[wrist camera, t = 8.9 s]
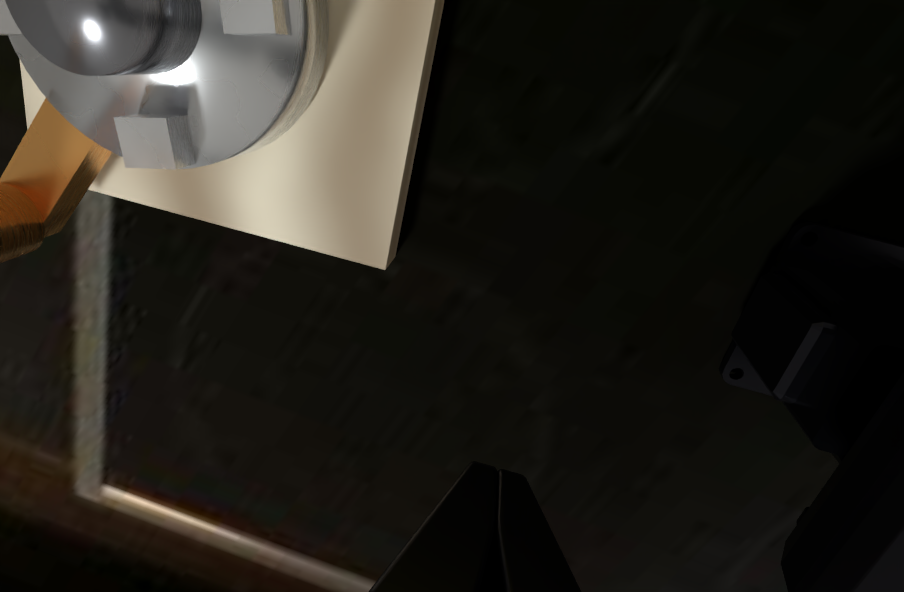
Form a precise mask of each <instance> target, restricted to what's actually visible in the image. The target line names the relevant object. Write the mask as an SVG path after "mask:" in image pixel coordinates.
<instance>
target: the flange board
mask: <svg viewBox="0 0 904 592" xmlns="http://www.w3.org/2000/svg"><path fill="white" fill-rule="evenodd" d="M327 2H328V9H329V38H328V48H327V55H326V60H325V64H324V69H323V73H322V76H321V78H320V81H319V84H318V87H317V90H316V92H315V94H314V95H313V97H312V99H311V101H310V103H309V105H308V107H307V108H306V109H305V111H304V112H303V114H302V115H301V117H300V118H299V119H298V120H297V121H296V123H295V124H294V125H293V126H292V127H291V128H290V129H289V130H288V131H287V132H285V133H284V134H283V135H282V136H280V137H279V138H278V139H276V140H275V141H273V142H272V143H270V144H268V145H266V146H264V147H263V148H260V149H258V150H255V151H252V152H249V153H246V154H243V155H240V156H237V157H233V158H230V159H227V160H223V161H220V162H217V163H214V164H210V165H207V166H201V167H196V168H191V169H149V168H125V164H124V159H123V157H121V156H119V155H117V154H115V153H113V152H112V154H111V155H110V157H109V158H108V160H107V161H106V163H105V164H104V166H103V167H102V169H101V170H100V172H99V173H98V175H97V176H96V178H95V179H94V181H93V182H92V184H91V185H90V187H89V189H88V190H92V191H96V192H99V193H103V194H107V195H111V196H114V197H118V198H122V199H125V200H129V201H133V202H136V203H140V204H144V205H147V206H151V207H155V208H159V209H162V210H166V211H170V212H173V213H177V214H181V215H184V216H188V217H192V218H195V219H199V220H203V221H207V222H210V223H214V224H218V225H221V226H225V227H229V228H232V229H236V230H240V231H243V232H247V233H251V234H255V235H258V236H262V237H266V238H269V239H273V240H277V241H280V242H284V243H288V244H291V245H295V246H299V247H303V248H306V249H310V250H314V251H317V252H321V253H325V254H328V255H332V256H336V257H339V258H343V259H347V260H351V261H354V262H358V263H362V264H365V265H369V266H373V267H376V268H380V269H384V270H386V268H387V267H388V266H389V264H390V263H391V262H392V260H393V259H394V258H395V255H396V250H397V245H398V240H399V235H400V229H401V224H402V219H403V214H404V209H405V203H406V198H407V193H408V188H409V183H410V177H411V172H412V167H413V162H414V157H415V151H416V146H417V141H418V136H419V131H420V125H421V120H422V115H423V110H424V105H425V99H426V94H427V89H428V84H429V79H430V73H431V68H432V63H433V58H434V53H435V47H436V42H437V37H438V32H439V27H440V21H441V16H442V11H443V6H444V0H327ZM20 66H21V75H22V84H23V93H24V102H25V111H26V120H27V129H28V128H29V127H30V125H31V123H32V121H33V119H34V118H35V116H36V114H37V112H38V111H39V109H40V107H41V105H42V103H43V102H44V100H45V98H46V97H45V96H44V94H43V93H42V92H41V91H40V90H39V88H38V87H37V85H36V84H35V82H34V81H33V80H32V78H31V77H30V75H29V74H28V72H27V71H26V69H25V67H24V66H23V64H22V62H21V60H20Z"/></svg>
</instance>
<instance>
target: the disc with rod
mask: <svg viewBox="0 0 904 592" xmlns="http://www.w3.org/2000/svg"><path fill="white" fill-rule="evenodd" d="M0 35H6V36H9V38H10V41H11V43H12V45H13V47H14V50H15V51H16V53H17V55H18V57H19V58H20V60H21V62H22V64H23V66H24V67H25V69H26V71H27V72H28V74H29V75H30V77H31V78H32V80H33V81H34V82H35V84H36V85H37V87H38V88H39V90H40V91H41V92H42V93H43V94H44V96H45V97H46V98H45V100H44V102H43V103H42V105H41V107H40V109H39V111H38V112H37V114H36V116H35V118H34V119H33V121H32V123H31V125H30V127H29V128H28V130H27V132H26V134H25V136H24V137H23V139H22V141H21V143H20V144H19V146H18V148H17V150H16V152H15V153H14V155H13V157H12V159H11V161H10V162H9V164H8V166H7V168H6V169H5V171H4V173H3V175H2V177H1V178H0V263H2V262H5V261H7V260H10V259H13V258H15V257H18V256H21V255H24V254H26V253H29V252H32V251H34V250H36V249H37V248H38V247H40V245H41V244H42V242H43V239H44V237H46V236H49V235H52V234H55V233H58V232H60V231H61V230H62V228H63V227H64V225H65V224H66V222H67V220H68V219H69V217H70V216H71V214H72V213H73V211H74V210H75V208H76V207H77V205H78V204H79V202H80V201H81V199H82V198H83V196H84V195H85V193H86V192H87V190H88V189H89V187H90V185H91V184H92V182H93V181H94V179H95V178H96V176H97V175H98V173H99V172H100V170H101V169H102V167H103V166H104V164H105V163H106V161H107V160H108V158H109V157H110V155H111V154H112V152H113V153H115V154H117V155H119V156H121V157H123V159H124V164H125V168H149V169H191V168H196V167H201V166H207V165H210V164H214V163H217V162H220V161H223V160H227V159H230V158H233V157H237V156H240V155H243V154H246V153H249V152H252V151H255V150H258V149H260V148H263V147H264V146H266V145H268V144H270V143H272V142H273V141H275V140H276V139H278V138H279V137H280V136H282V135H283V134H284V133H285V132H287V131H288V130H289V129H290V128H291V127H292V126H293V125H294V124H295V123H296V121H297V120H298V119H299V118H300V117H301V115H302V114H303V112H304V111H305V109H306V108H307V107H308V105H309V103H310V101H311V99H312V97H313V95H314V94H315V92H316V90H317V87H318V84H319V81H320V78H321V76H322V73H323V69H324V64H325V60H326V55H327V48H328V38H329V9H328V2H327V0H0Z"/></svg>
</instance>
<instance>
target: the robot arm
mask: <svg viewBox="0 0 904 592" xmlns="http://www.w3.org/2000/svg"><path fill="white" fill-rule="evenodd" d="M808 232H812V238H811V239H810V240H809V241H807V242H805V243H801V238H802V236H803V235H804V234H805V233H808ZM732 337H733V339H734V340H733V342H732V343H731V345H730V347H729V349H728V351H727V353H726V355H725V357H724V359H723V361H722V363H721V365H720V368H719V371H720V374H721V376H722V378H723V379H724V380H725V381H726V383H729V384H731V385H734V386H738V387H742V388H745V389H749V390H753V391H756V392H760V393H764V394H767V395H771V396H773V397H774V398H775V399H776V400H778V401H782V402H783V403H784V405H785V406H786V408H787V409H788V410H789V412H790V413H791V415H792V416H793V417H794V419H795V420H796V422H797V423H798V424H799V426H800V427H801V428H802V430H803V431H804V433H805V434H806V435H807V437H808V438H809V440H810V441H811V442H812V444H813V445H814V447H816V448H818V449H819V450H823V451H827V452H830V453H832V454H833V456H834V457H835V458H836V460H837V461H838V462H839V466H838V467H837V468H836V470H835V471H834V473H833V474H832V476H831V477H830V479H829V480H828V481H827V483H826V484H825V486H824V487H823V489H822V490H821V491H820V493H819V494H818V496H817V497H816V499H815V500H814V501H813V503H812V504H811V506H810V507H806V508H805V509H804V511H803V512H802V514H801V515H800V517H799V518H798V519H797V526H796V527H795V529H794V530H793V531H792V533H791V534H790V536H789V537H788V539H787V540H786V542H785V547H784V551H783V556H782V560H781V566H782V570H783V573H784V577H785V581H786V585H787V589H788V592H904V246H903V245H899V244H895V243H891V242H887V241H883V240H879V239H875V238H871V237H868V236H864V235H860V234H856V233H852V232H848V231H844V230H840V229H836V228H833V227H829V226H825V225H821V224H817V223H813V222H802V223H799V224H797V225H796V226H794V227H793V228H792V229H791V231H790V232H789V234H788V236H787V238H786V240H785V241H784V243H783V245H782V247H781V249H780V251H779V253H778V255H777V257H776V259H775V261H774V263H773V265H772V266H771V268H770V270H769V272H768V273H767V274H765V275H763V276H761V277H760V279H759V281H758V283H757V285H756V287H755V289H754V291H753V293H752V295H751V297H750V299H749V300H748V302H747V304H746V306H745V308H744V310H743V312H742V314H741V316H740V318H739V320H738V322H737V324H736V326H735V328H734V330H733V332H732ZM735 368H740V371H739V372H738V373H735V374H730V371H731V370H732V369H735ZM369 592H581V590H580V588H579V586H578V584H577V582H576V580H575V578H574V576H573V574H572V572H571V570H570V568H569V566H568V564H567V562H566V559H565V557H564V555H563V553H562V551H561V549H560V547H559V545H558V543H557V541H556V539H555V537H554V535H553V533H552V531H551V529H550V527H549V525H548V522H547V520H546V518H545V516H544V514H543V512H542V510H541V508H540V506H539V504H538V502H537V500H536V498H535V496H534V494H533V492H532V490H531V488H530V486H529V483H528V481H527V479H526V478H525V477H524V476H523V475H521V474H518V473H514V472H511V471H507V470H504V469H500V470H499V471H498V472H497V470H496V468H495V467H493V466H490V465H486V464H483V463H479V462H475V461H474V462H471V463H470V464H469V465H468V466H467V467H466V469H465V470H464V471H463V472H462V474H461V475H460V476H459V478H458V479H457V480H456V481H455V483H454V484H453V485H452V486H451V488H450V489H449V490H448V492H447V493H446V494H445V495H444V497H443V498H442V499H441V500H440V502H439V503H438V504H437V505H436V507H435V508H434V509H433V511H432V512H431V513H430V514H429V516H428V517H427V518H426V519H425V521H424V522H423V523H422V525H421V526H420V527H419V528H418V530H417V531H416V532H415V533H414V535H413V536H412V537H411V538H410V540H409V541H408V542H407V544H406V545H405V546H404V547H403V549H402V550H401V551H400V552H399V554H398V555H397V556H396V558H395V559H394V560H393V561H392V563H391V564H390V565H389V566H388V568H387V569H386V570H385V571H384V573H383V574H382V575H381V577H380V578H379V579H378V580H377V582H376V583H375V584H374V585H373V587H372V588H371V589H370V591H369Z"/></svg>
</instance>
